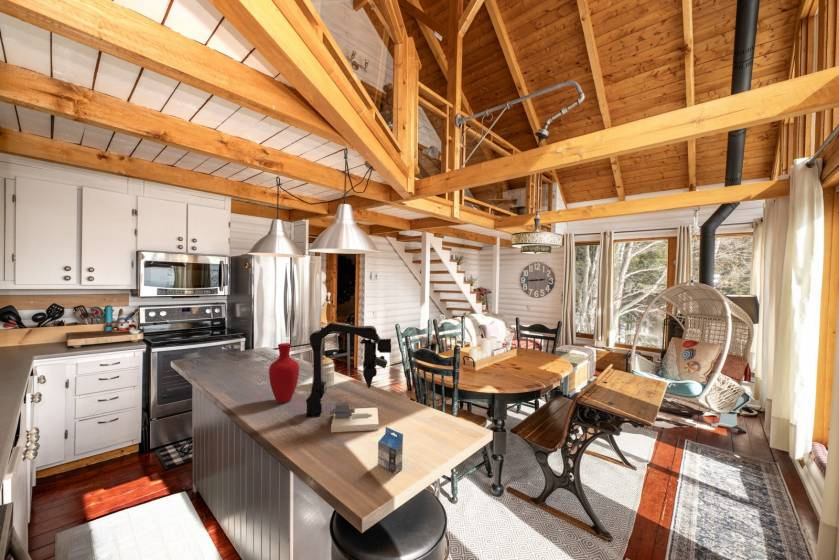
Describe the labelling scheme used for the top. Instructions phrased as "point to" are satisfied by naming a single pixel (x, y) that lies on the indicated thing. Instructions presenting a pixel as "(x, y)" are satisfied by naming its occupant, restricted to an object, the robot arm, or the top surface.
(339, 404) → the servo
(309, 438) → the top surface
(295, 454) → the top surface
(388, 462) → the label tape cartridge
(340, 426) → the cream flat slab
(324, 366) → the jar
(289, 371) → the vase
